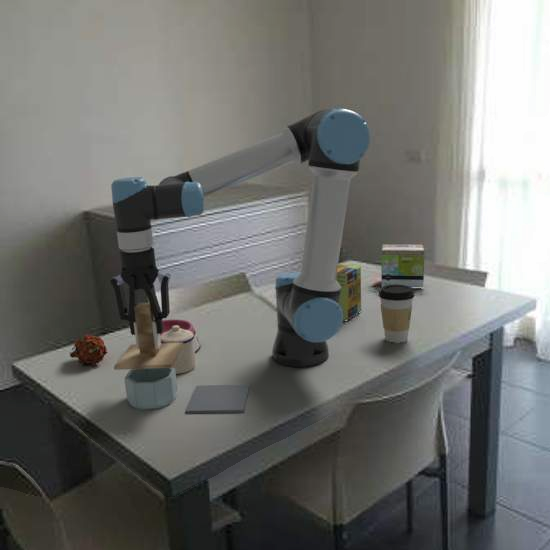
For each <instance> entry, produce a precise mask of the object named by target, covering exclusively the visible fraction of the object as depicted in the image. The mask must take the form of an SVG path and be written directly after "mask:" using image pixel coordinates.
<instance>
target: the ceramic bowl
mask: <svg viewBox="0 0 550 550" xmlns="http://www.w3.org/2000/svg"><path fill="white" fill-rule="evenodd" d="M124 385H125V394H126V400H127V401H128V402H129V403H128V404H129V405H130V406H131V407H132V408H134V409H137V410H157V409H161V408H163V407H166V406H167V407H168V405H171V404H172V403H174V401H175V400H176V399H177V392H178V382H177V374H176V370H175V368H173V367H172V368H150V369H129V370H128V372H127V373H126V375H125V376H124Z"/></svg>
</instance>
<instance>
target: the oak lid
mask: <svg viewBox="0 0 550 550" xmlns="http://www.w3.org/2000/svg"><path fill="white" fill-rule="evenodd" d="M134 311H135V318H136V326H137V333H138V341H139V348H140V349H138V350H137V345H136V343H135V344H129V347H127V349H126V350H125V351H124V352H123V354H122V355H121V357H120V358H119V360H118V361H117V362H116V363H115V365H114V367H113V369H114V370H115V371H116V370H118V371H119V370H121V371H122V370H131V369H150V368H172V366H173V364H174V363H175V361H176V359H177V357H178V355H179V353H180V352H181V350H182V348H183V346H184V344H183V343H161V345H160V347H159V348H158V349H155V344H154V336H153V328H152V321H153V320H154V315H153V312H152V309H151V306H150V303H149V302H148V301H147V302H137V305H136V306H135V307H134Z"/></svg>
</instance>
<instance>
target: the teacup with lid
mask: <svg viewBox="0 0 550 550" xmlns="http://www.w3.org/2000/svg"><path fill="white" fill-rule="evenodd" d="M160 339H161V343H183V344H184V346H183V348H182V350H181V352H180V353H179V355H178V357H177V359H176V361H175V363H174V364H173V366H172V367H173V368H175V370H176V375H178V374H186V373H188V372H191V371H193V370H194V369H195V368H196V366H197V365H196V364H197V363H196V353H195V350H194V334H193V333H192V332H191V331H189V330H184V329H181V328H180V327H179V326H178V325H175V326H173V327H172V329H171V330H169V331H168V332H165V333H163V334H162V335H161V336H160Z"/></svg>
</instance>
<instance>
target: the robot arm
mask: <svg viewBox="0 0 550 550" xmlns="http://www.w3.org/2000/svg"><path fill="white" fill-rule="evenodd" d="M370 142H371V132H370V128H369V126H368V124H367V122H366V120H365V119H364V118H363V117H362V116H361V115H360V114H358V113H357V112H355V111H352V110H350V109H345V108H331V109H321V110H318V111H316V112H314V113H312V114H309V115H308V116H306V117H304V118H302V119H299V120H298V121H296V122H294V123H292V124H290V125H287V126H285V127H284V128H283V130H282V132H281V133H278V134H276V135H274V136H271V137H268V138H265V139H263V140H261V141H259V142H256V143H253V144H251V145H248V146H247V147H244V148H242V149H239V150H236V151H234V152H231V153H228V154H226V155H224V156H221V157H219V158H217V159H214V160H212V161H208V162H206V163H204V164H201V165H199V166H197V167H194V168H191V169H189V170H187V171H185V172H182V173H179V174H177V175H173V176H172V175H171V176H168V177H165V178H163V179H162V180H161V181H160V182H159V183H158V184H156V185H148V183H147V181H146V178H145V177H141V176H136V177H135V176H132V177H122V178H118V179H115V180H113V181H112V183H111V198H112V207H113V214H114V220H115V221H114V222H115V227H116V228H115V229H116V234H117V235H116V236H117V243H118V249H120V251H119V259H120V265H121V272H120V274H119V275H115V276H114V277H112V278H111V279H110V281H109V283H110V284H111V286H112V287H113V289H114V293H115V299H116V304H117V308H118V313H119V318H120V320H122V321H127V322H128V323H129V329H130V334H131V336H134V338H135V344H136V345H137V350H138V349H140V348H139V341H138V333H137V326H136V318H135V311H134V307H135V306H136V305H137V304H138V297H139V296H138V294H139V290H144V291H145V294H146V296H147V299H148V301H149V303H150V306H151V309H152V312H153V315H154V320H153V321H152V328H153V336H154V344H155V349H158V348H159V347H160V345H161V339H160V334H162V332H163V321H162V320H165V319H166V318H167V317H168V316H169V315H170V312H171V311H170V309H171V307H170V291H169V282H170V279H171V274H170V273H163V272H160V271H159V268H158V267H157V263H156V262H157V261H156V256H155V248H153V245H154V238H153V229H152V224H151V223H152V221H157V220H165V219H175V218H191V217H195V216H201V215H202V214H204V211H205V201H204V199H205V198H208V197H210V196H213V195H215V194H217V193H220V192H222V191H225V190H227V189H230V188H233V187H235V186H237V185H240V184H242V183H245V182H247V181H250V180H252V179H255V178H257V177H260V176H262V175H265V174H266V173H270V172H272V171H274V170H278V169H279V168H282V167H285V166H287V165H289V164H291V163H294V164H297V165H301V164H303V163H306V162H308V165H307V166H308V169H309V170H310V171H311V172H312V175H313V176H312V185H311V191H310V192H311V193H310V200H309V206H308V214H307V215H308V216H307V222H306V229H305V236H304V237H305V238H304V244H303V253H302V258H301V267H300V271H299V272H289V273H284V274H281V275H278V276H277V277H276V278H275V287H274V289H275V302H276V319H277V320H276V321H277V322H276V323H277V332H276V336H275V339H274V342H273V346H272V359H273V360H274V362H275V363H277V364H279V365H282V366H285V367H293V368H302V367H312V366H316V365H319V364H321V363H323V362H325V361H327V360H328V358H329V356H330V355H329V354H330V353H329V345H328V343H327V341H328V340H330V339H332V338H333V337H334V336H335V335H337V333H338V332H339V331H340V330H341V329H342V328H341V327H342V326H343V322H344V321H343V313H342V309H341V307H340V305H339V299H340V292H341V286H340V284H339V283H338V282H337V280H336V275H337V268H338V264H339V260H340V254H341V246H342V240H343V234H344V233H343V232H344V227H345V220H346V219H345V218H346V213H347V206H348V198H349V191H350V185H351V180H352V178H354V177H355V176H356V175H357V174H358V173H359V169H360V164H361V159H362V158H363V156H364V155H366V153H367V152H368V149H369V147H370ZM157 278H158V282H159V284H160V301H161V302H160V303H161V304H160V303H159V299H158V297H157V292H156V291H155V289H156V288H155V285H154V284H155V282H156V279H157ZM124 282H125V283H126V284H127V286H128V287H129V288H128V294H129V296H128V297H129V299H128V300H129V301H128V302H129V303H128V306H127V300H126V294H125V289H124V285H123V284H124ZM160 305H161V306H160Z"/></svg>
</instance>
